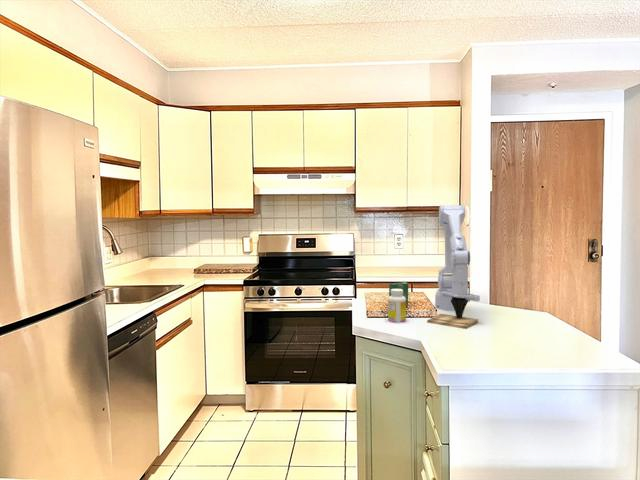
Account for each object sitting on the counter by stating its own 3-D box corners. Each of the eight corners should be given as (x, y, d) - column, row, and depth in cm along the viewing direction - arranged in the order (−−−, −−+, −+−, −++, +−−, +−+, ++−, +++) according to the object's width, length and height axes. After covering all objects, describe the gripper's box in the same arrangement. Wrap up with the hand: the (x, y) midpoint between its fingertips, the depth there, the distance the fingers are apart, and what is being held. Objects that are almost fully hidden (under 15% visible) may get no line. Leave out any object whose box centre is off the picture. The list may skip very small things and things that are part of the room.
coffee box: (404, 312, 199) (404, 281, 198) (408, 314, 196) (408, 282, 195) (388, 315, 195) (388, 283, 194) (392, 316, 192) (392, 284, 191)
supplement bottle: (405, 321, 185) (405, 288, 184) (406, 325, 179) (406, 291, 178) (387, 320, 186) (387, 288, 185) (388, 325, 179) (388, 291, 178)
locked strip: (427, 322, 179) (427, 319, 179) (429, 321, 180) (429, 318, 180) (466, 329, 169) (466, 326, 169) (468, 327, 171) (468, 325, 171)
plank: (430, 320, 181) (430, 318, 181) (440, 316, 187) (440, 313, 187) (469, 327, 172) (469, 324, 171) (478, 322, 178) (478, 319, 178)
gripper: (437, 281, 181) (436, 317, 182) (474, 285, 172) (474, 322, 173) (445, 279, 187) (444, 313, 188) (482, 282, 177) (481, 319, 178)
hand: (459, 317), depth 181 cm, fingers closed, pressing on plank
